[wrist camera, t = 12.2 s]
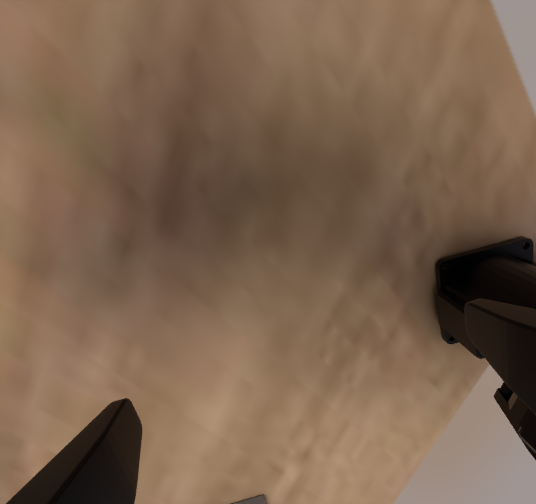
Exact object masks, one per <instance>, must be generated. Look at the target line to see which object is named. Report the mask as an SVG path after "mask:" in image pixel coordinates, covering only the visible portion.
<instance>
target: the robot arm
mask: <svg viewBox="0 0 536 504" xmlns="http://www.w3.org/2000/svg"><path fill="white" fill-rule="evenodd" d="M524 243H525V245H524V246H523V244H524ZM522 246H523V247H522ZM445 264H447V266H446V268H444V269H443V266H444V265H445ZM436 274H437V285H438V291H437V294H436V298H437V308H438V319H439V325H440V326H441V330H442V338H443V340H444V341H446V342H447V343H448V344H454V343H458V342H460V343H461V344H462V345H463V346H464V347H465V348H467V349H468V350H469V351H470V352H471V353H472V354H473V355H475V356H476V357H478V358H480V359H483V358H485V359H486V360H487V361H488V362H489V364H490V365H491V366H492V367H493V369H494V370H495V371H496V372H497V374H498V375H499V376H500V377H501V378H502V379H503V381H504V383H503V385H502V386H501V388H498V389H497V391H496V393H495V395H494V398H495V400H496V401H497V403H498V404H499V406H500V407H501V409H502V411H503V412H504V413H505V415H506V417H507V418H508V420H509V421H510V423H511V425H512V426H513V428H514V429H515V431H516V432H517V434H518V435H519V437H520V438H521V440H522V442H523V443H524V445H525V446H526V448H527V449H528V451H529V452H530V453H531V455H532V456H533V457H534V458H535V460H536V263H535V262H533V241H532V240H531V239H529V238H526V237H520V238H516V239H513V240H509V241H505V242H502V243H498V244H494V245H491V246H487V247H483V248H480V249H476V250H472V251H469V252H465V253H461V254H458V255H454V256H450V257H447V258H443V259H441V260H439V261H438V262H437V264H436ZM451 335H452V336H451ZM450 336H451V337H450ZM449 337H450V338H449ZM141 440H142V424H141V421H140V419H139V417H138V415H137V413H136V410H135V408H134V406H133V404H132V402H131V401H130V400H129V399H127V398H125V399H121V400H117V401H114V402H112V403H110V404H109V405H108V406H107V407H106V408H105V409H104V410H103V411H102V412H101V413H100V414H99V415H98V416H97V417H96V418H95V419H94V420H92V421H91V422H90V423H89V424H88V425H87V426H86V427H85V428H84V429H83V430H82V431H81V432H80V433H79V434H78V435H77V436H76V437H75V438H74V439H73V440H72V441H71V442H70V443H69V444H68V445H66V446H65V447H64V448H63V449H62V450H61V451H60V452H59V453H58V454H57V455H56V456H55V457H54V458H53V459H52V460H51V461H50V462H49V463H48V464H47V465H46V466H45V467H44V468H43V469H41V470H40V471H39V472H38V473H37V474H36V475H35V476H34V477H33V478H32V479H31V480H30V481H29V482H28V483H27V484H26V485H25V486H24V487H23V488H22V489H21V490H20V491H19V492H18V493H17V494H15V495H14V496H13V497H12V498H11V499H10V500H9V501H8V502H7V503H6V504H134V502H135V496H136V489H137V481H138V471H139V460H140V450H141Z"/></svg>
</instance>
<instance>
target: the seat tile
mask: <svg viewBox="0 0 536 504" xmlns="http://www.w3.org/2000/svg"><path fill="white" fill-rule="evenodd" d="M233 504H267V503H266V500H265V497H264V495H261V496H258V497H254V498H251V499H247V500H244V501H240V502H237V503H233Z"/></svg>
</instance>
